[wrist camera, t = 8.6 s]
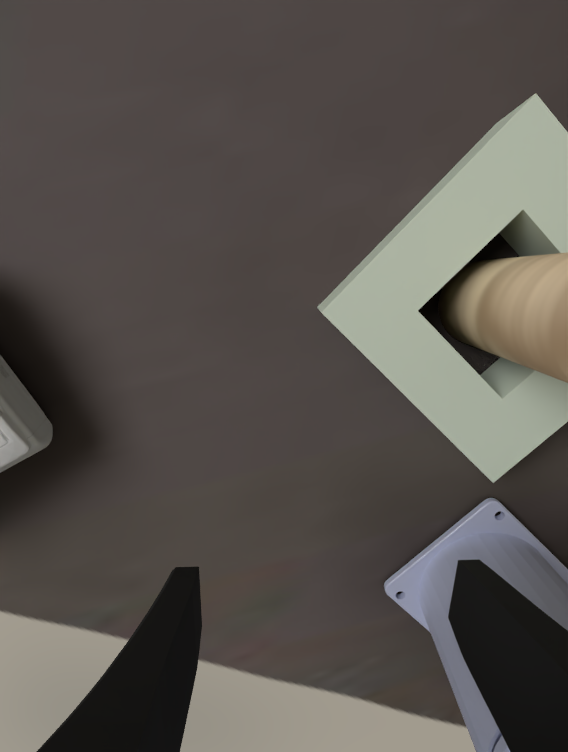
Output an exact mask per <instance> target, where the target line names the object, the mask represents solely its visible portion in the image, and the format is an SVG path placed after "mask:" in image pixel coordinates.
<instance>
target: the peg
mask: <svg viewBox="0 0 568 752" xmlns="http://www.w3.org/2000/svg"><path fill="white" fill-rule="evenodd" d="M438 310H439V316H440V320H441V322H442V325H443V326H444V328H445V330H446V331H447V332H448V333H449V334H450V335H451V336H452V337H454V338H455V339H456V340H458V341H460V342H463V343H465V344H468V345H471V346H473V347H476V348H478V349H481V350H484V351H486V352H489V353H491V354H494V355H496V356H499V357H502V358H504V359H507V360H509V361H512V362H515V363H517V364H520V365H522V366H525V367H528V368H530V369H533V370H535V371H538V372H541V373H543V374H546V375H548V376H551V377H553V378H556V379H559V380H561V381H564V382H566V383H568V252H567V253H556V254H545V255H534V256H523V257H513V258H502V259H491V260H480V261H475V262H472V263H469V264H467V265H465V266H464V267H463V268H462V269H461V270H460V271H458V272H457V273H456V274H455V275H454V276H453V277H452V278H451V279H450V280H449V281H448V282H447V283H446V284H445V285H444V287H443V289H442V291H441V294H440V297H439V305H438Z"/></svg>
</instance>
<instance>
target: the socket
mask: <svg viewBox="0 0 568 752" xmlns="http://www.w3.org/2000/svg"><path fill="white" fill-rule="evenodd" d="M498 233H500V235H501V236H502V237H503V238H504V239H505V240H506V241H507V243H508V244H509V245H510V246H511V247H512V248H513V249H514V250H515V252H516V253H517V254H518V255H519V256H520V257H523V256H534V255H545V254H556V253H567V252H568V132H567V131H566V130H565V129H564V127H563V126H562V125H561V124H560V122H559V121H558V120H557V119H556V118H555V116H554V115H553V114H552V113H551V111H550V110H549V109H548V108H547V106H546V105H545V104H544V103H543V102H542V100H541V99H540V98H539V97H538V95H537V94H536V93H535V94H534V95H533V96H532V97H530V98H529V99H528V100H526V101H525V102H524V103H522V104H521V105H520V106H518V107H517V108H516V109H514V110H513V111H512V112H511V113H509V114H508V115H507V116H505V117H504V118H503V119H501V120H500V121H499V122H497V123H496V124H495V125H494V126H493V127H492V128H491V129H490V130H489V131H488V132H487V133H486V134H485V136H484V137H483V138H482V139H481V140H480V141H479V142H478V143H477V144H476V145H475V146H474V147H473V148H472V149H471V150H470V151H469V152H468V153H467V154H466V155H465V156H464V157H463V158H462V159H461V160H460V161H459V162H458V163H457V164H456V165H455V166H454V167H453V168H452V169H451V170H450V171H449V172H448V174H447V175H446V176H445V177H444V178H443V179H442V180H441V181H440V182H439V183H438V184H437V185H436V186H435V187H434V188H433V189H432V190H431V191H430V192H429V193H428V194H427V195H426V196H425V197H424V198H423V199H422V200H421V201H420V202H419V203H418V204H417V205H416V206H415V207H414V208H413V209H412V210H411V211H410V213H409V214H408V215H407V216H406V217H405V218H404V219H403V220H402V221H401V222H400V223H399V224H398V225H397V226H396V227H395V228H394V229H393V230H392V231H391V232H390V233H389V234H388V235H387V236H386V237H385V238H384V239H383V240H382V241H381V242H380V243H379V244H378V245H377V246H376V247H375V248H374V249H373V250H372V252H371V253H370V254H369V255H368V256H367V257H366V258H365V259H364V260H363V261H362V262H361V263H360V264H359V265H358V266H357V267H356V268H355V269H354V270H353V271H352V272H351V273H350V274H349V275H348V276H347V277H346V278H345V279H344V280H343V281H342V282H341V283H340V284H339V285H338V286H337V287H336V288H335V289H334V291H333V292H332V293H331V294H330V295H329V296H328V297H327V298H326V299H325V300H324V301H323V302H322V303H321V304H320V305H319V306H318V307H317V308H318V309H319V310H320V312H321V313H322V314H323V315H324V316H325V317H326V318H327V319H328V320H329V321H330V322H331V323H332V324H333V325H334V326H335V327H336V328H337V329H338V330H339V331H340V332H341V333H342V334H343V335H344V336H345V337H346V338H347V339H348V340H349V341H351V342H352V343H353V344H354V345H355V346H356V347H357V348H358V349H359V350H360V351H361V352H362V353H363V354H364V355H365V356H366V357H367V358H368V359H369V360H370V361H371V362H372V363H373V364H374V365H375V366H376V367H377V368H378V369H379V370H380V371H381V372H382V373H383V374H384V375H385V376H386V377H387V378H388V379H389V380H390V381H391V382H392V383H393V384H394V385H395V386H396V387H397V388H398V389H399V390H400V391H401V392H402V393H403V394H404V395H405V396H406V397H407V398H408V399H409V400H410V401H411V402H412V403H413V404H414V405H415V406H416V407H417V408H418V409H419V410H420V411H421V412H422V413H423V414H424V415H425V416H426V417H427V418H428V419H429V420H430V421H431V422H432V423H433V424H434V425H435V426H436V427H437V428H438V429H439V430H440V431H441V432H442V433H443V434H444V435H445V436H446V437H447V438H448V439H449V440H450V441H451V442H452V443H453V444H454V445H455V446H456V447H457V448H458V449H459V450H460V451H461V452H462V453H463V454H464V455H465V456H466V457H467V458H468V459H469V460H470V461H471V462H472V463H473V464H474V465H475V466H477V467H478V468H479V469H480V470H481V471H482V472H483V473H484V474H485V475H486V476H487V477H488V478H489V479H490V480H491V481H492V482H493V483H494V482H495V481H496V480H497V479H499V478H500V477H501V476H502V475H503V474H505V473H506V472H507V471H508V470H510V469H511V468H512V467H513V466H514V465H516V464H517V463H518V462H519V461H520V460H522V459H523V458H524V457H525V456H527V455H528V454H529V453H530V452H531V451H533V450H534V449H535V448H536V447H537V446H539V445H540V444H541V443H542V442H544V441H545V440H546V439H547V438H548V437H550V436H551V435H552V434H553V433H554V432H556V431H557V430H558V429H559V428H561V427H562V426H563V425H564V424H565V423H567V422H568V383H566V382H564V381H561V380H559V379H556V378H553V377H551V376H548V375H546V374H543V373H541V372H538V371H535V370H533V369H530V368H528V367H525V366H522V365H520V364H517V363H515V362H512V361H509V360H507V359H504V358H502V357H500V358H499V359H498V360H497V361H496V362H494V363H493V364H492V365H491V366H490V367H489V368H488V369H487V370H485V371H484V372H483V373H482V374H481V375H479V374H478V373H477V372H476V371H475V370H474V369H473V368H472V367H471V366H470V365H469V364H468V363H467V362H466V361H465V359H464V358H463V357H462V356H461V355H460V354H459V353H458V352H457V351H456V350H455V349H454V348H453V347H452V346H451V345H450V344H449V343H448V342H447V341H446V340H445V339H444V338H443V337H442V336H441V334H440V333H439V332H438V331H437V330H436V329H435V328H434V327H433V326H432V325H431V324H430V323H429V322H428V321H427V320H426V319H425V318H424V317H423V316H422V315H421V314H420V313H419V312H418V310H419V309H420V308H421V307H422V306H423V305H424V304H425V303H426V302H427V301H428V300H429V299H430V298H431V297H433V296H434V295H435V294H436V293H437V292H438V291H439V290H440V289H441V288H442V287H443V286H444V285H445V284H446V283H447V282H448V281H449V280H450V279H451V278H452V277H453V276H454V275H455V274H456V273H457V272H458V271H460V270H461V269H462V268H463V267H464V266H465V265H466V264H467V263H468V262H469V261H470V260H471V259H472V258H473V257H474V256H475V255H476V254H477V253H478V252H479V251H480V250H481V249H482V248H483V247H484V246H485V245H487V244H488V243H489V242H490V241H491V240H492V239H493V238H494V237H495V236H496V235H497V234H498Z"/></svg>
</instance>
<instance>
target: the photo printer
mask: <svg viewBox="0 0 568 752" xmlns="http://www.w3.org/2000/svg"><path fill="white" fill-rule="evenodd" d="M52 437H53V428H52V424H51V423H50V421H49V420H48V418H47V417H46V416H45V414H44V412H43V411H42V410H41V408H40V407H39V405H38V404H37V403H36V401H35V400H34V399H33V397H32V396H31V395H30V393H29V392H28V391H27V389H26V388H25V387H24V385H23V384H22V383H21V381H20V380H19V379H18V378H17V376H16V375H15V374H14V372H13V371H12V370H11V368H10V367H9V366H8V364H7V363H6V362H5V360H4V359H3V358H2V356H1V355H0V473H1V472H3V471H4V470H6V469H8V468H10V467H12V466H13V465H15V464H17V463H19V462H21V461H23V460H24V459H26V458H28V457H30V456H32V455H34V454H35V453H37V452H39V451H41V450H42V449H44V448H46V447H47V446H48V445H49V444H50V442H51V440H52Z"/></svg>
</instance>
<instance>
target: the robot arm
mask: <svg viewBox="0 0 568 752" xmlns="http://www.w3.org/2000/svg"><path fill="white" fill-rule="evenodd" d="M499 511H501V513H500V515H498V516H495V514H496V513H497V512H499ZM384 589H385V592H386V594H387V595H388V596H389V597H391V598H392V599H393V600H394V601H395V602H396V603H397V604H398V605H400V606H401V607H402V608H403V609H404V610H405V611H406V612H408V613H409V614H410V615H411V616H412V617H413V618H414V619H416V620H417V621H418V622H419V623H420V624H421V625H422V626H423V627H425V628H426V629H427V630H428V631H429V632H430V633H431V635H432V638H433V640H434V643H435V645H436V648H437V651H438V653H439V656H440V658H441V661H442V664H443V666H444V669H445V672H446V674H447V677H448V679H449V682H450V685H451V687H452V690H453V692H454V695H455V698H456V700H457V703H458V705H459V708H460V711H461V713H462V716H463V718H464V721H465V724H466V726H467V729H468V731H469V734H470V736H471V739H472V742H473V744H474V747H475V750H476V752H568V569H567V568H566V567H565V566H564V565H563V564H562V563H561V562H560V561H559V560H558V559H557V558H556V557H555V556H554V555H553V554H552V553H551V552H550V551H549V550H548V549H547V548H546V547H545V546H544V545H543V544H542V543H541V542H540V541H539V540H538V539H537V538H536V537H535V536H534V535H533V534H532V533H531V532H530V531H529V530H528V529H527V528H526V527H525V526H524V525H523V524H522V523H521V522H519V521H518V520H517V519H516V518H515V517H514V516H513V515H512V514H511V513H510V512H509V511H508V510H507V509H506V508H505V507H504V506H503V505H502V504H501V503H500V502H499V501H498V500H497V499H495V498H487V499H486V500H484V501H483V502H482V503H480V504H479V505H478V506H477V507H475V508H474V509H473V510H472V511H471V512H469V513H468V514H467V515H466V516H464V517H463V518H462V519H461V520H460V521H458V522H457V523H456V524H455V525H453V526H452V527H451V528H450V529H449V530H447V531H446V532H445V533H444V534H442V535H441V536H440V537H439V538H438V539H436V540H435V541H434V542H433V543H431V544H430V545H429V546H428V547H427V548H425V549H424V550H423V551H422V552H420V553H419V554H418V555H417V556H416V557H414V558H413V559H412V560H411V561H409V562H408V563H407V564H406V565H404V566H403V567H402V568H401V569H400V570H398V571H397V572H396V573H395V574H393V575H392V576H391V577H390V578H389V579H387V580H386V582H385V583H384ZM399 591H402V593H401V594H396V593H397V592H399ZM201 629H202V618H201V599H200V580H199V567H176V568H175V569H174V570H173V571H172V572H171V574H170V576H169V578H168V579H167V581H166V583H165V585H164V587H163V588H162V590H161V592H160V593H159V595H158V597H157V598H156V600H155V601H154V603H153V605H152V606H151V608H150V609H149V611H148V613H147V614H146V616H145V617H144V619H143V620H142V622H141V623H140V625H139V626H138V628H137V629H136V631H135V632H134V634H133V635H132V636H131V638H130V639H129V641H128V642H127V644H126V645H125V646H124V648H123V649H122V650H121V652H120V653H119V654H118V656H117V657H116V658H115V660H114V661H113V663H112V664H111V665H110V667H109V668H108V669H107V671H106V672H105V673H104V675H103V676H102V677H101V678H100V680H99V681H98V682H97V683H96V685H95V686H94V687H93V688H92V690H91V691H90V692H89V693H88V695H87V696H86V697H85V698H84V699H83V700H82V702H81V703H80V704H79V705H78V706H77V707H76V709H75V710H74V711H73V712H72V713H71V714H70V716H69V717H68V718H67V719H66V720H65V721H64V722H63V723H62V725H61V726H60V727H59V728H58V729H57V730H56V731H55V732H54V734H52V736H51V737H50V738H49V739H48V740H47V741H46V742H45V743H44V744H43V745H42V747H41V748H40V749H39V750H38V751H37V752H180V747H181V743H182V738H183V733H184V729H185V724H186V719H187V714H188V710H189V705H190V700H191V695H192V690H193V686H194V681H195V676H196V671H197V664H198V656H199V648H200V638H201Z"/></svg>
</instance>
